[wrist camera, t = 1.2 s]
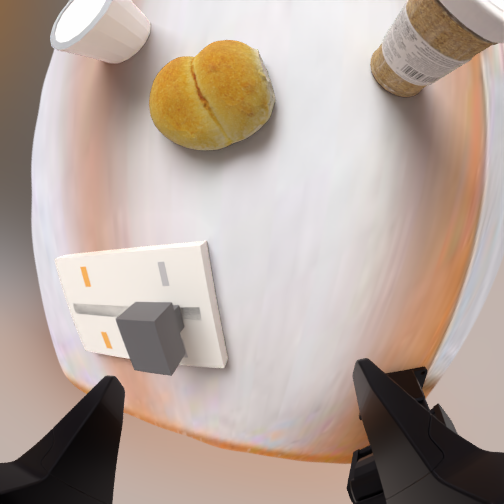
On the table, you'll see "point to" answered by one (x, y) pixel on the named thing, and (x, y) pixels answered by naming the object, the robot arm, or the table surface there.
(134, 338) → the fader knob
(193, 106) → the bread roll
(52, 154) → the table surface
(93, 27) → the white cup
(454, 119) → the table surface
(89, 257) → the fader panel
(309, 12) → the table surface
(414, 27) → the sprinkles bottle
